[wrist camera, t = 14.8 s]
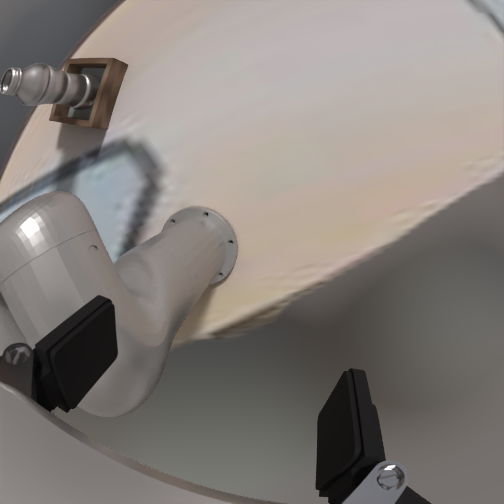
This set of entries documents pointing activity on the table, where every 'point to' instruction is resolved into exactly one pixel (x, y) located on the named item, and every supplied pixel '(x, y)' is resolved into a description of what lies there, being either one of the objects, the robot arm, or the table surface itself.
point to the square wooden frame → (110, 82)
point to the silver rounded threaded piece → (50, 86)
